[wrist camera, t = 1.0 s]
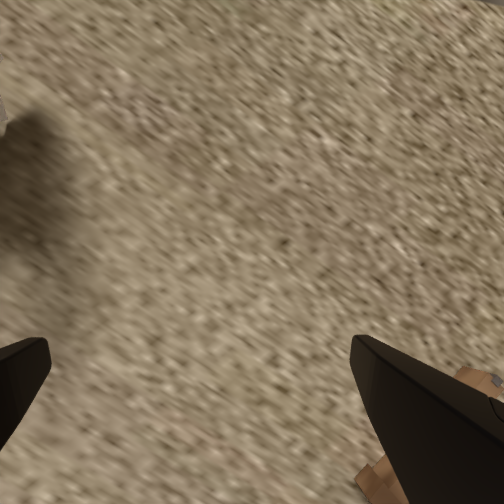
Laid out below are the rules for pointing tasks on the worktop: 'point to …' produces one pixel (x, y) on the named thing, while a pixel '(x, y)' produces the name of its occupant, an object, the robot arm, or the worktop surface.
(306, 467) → the worktop surface
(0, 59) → the spiral staircase
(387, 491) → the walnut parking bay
